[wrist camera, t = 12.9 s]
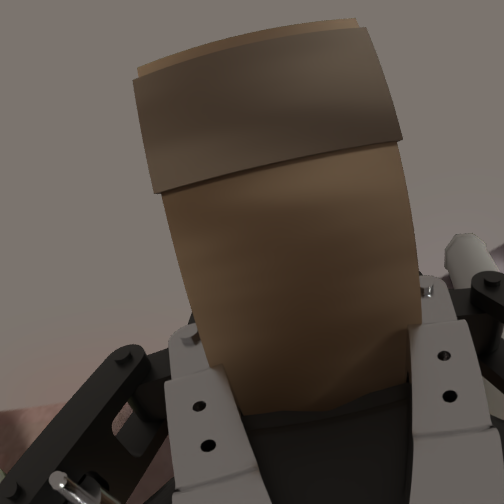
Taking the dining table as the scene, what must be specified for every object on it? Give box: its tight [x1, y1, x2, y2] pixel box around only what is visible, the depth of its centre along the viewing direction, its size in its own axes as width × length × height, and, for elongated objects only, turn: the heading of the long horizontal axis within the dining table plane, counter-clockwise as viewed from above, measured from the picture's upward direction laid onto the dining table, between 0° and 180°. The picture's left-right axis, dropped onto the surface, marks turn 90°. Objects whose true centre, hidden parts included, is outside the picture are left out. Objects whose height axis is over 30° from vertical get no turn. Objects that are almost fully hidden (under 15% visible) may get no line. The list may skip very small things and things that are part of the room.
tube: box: [444, 233, 504, 420], centre depth 19 cm, size 5×5×25 cm
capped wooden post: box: [133, 18, 422, 416], centre depth 9 cm, size 5×5×16 cm
